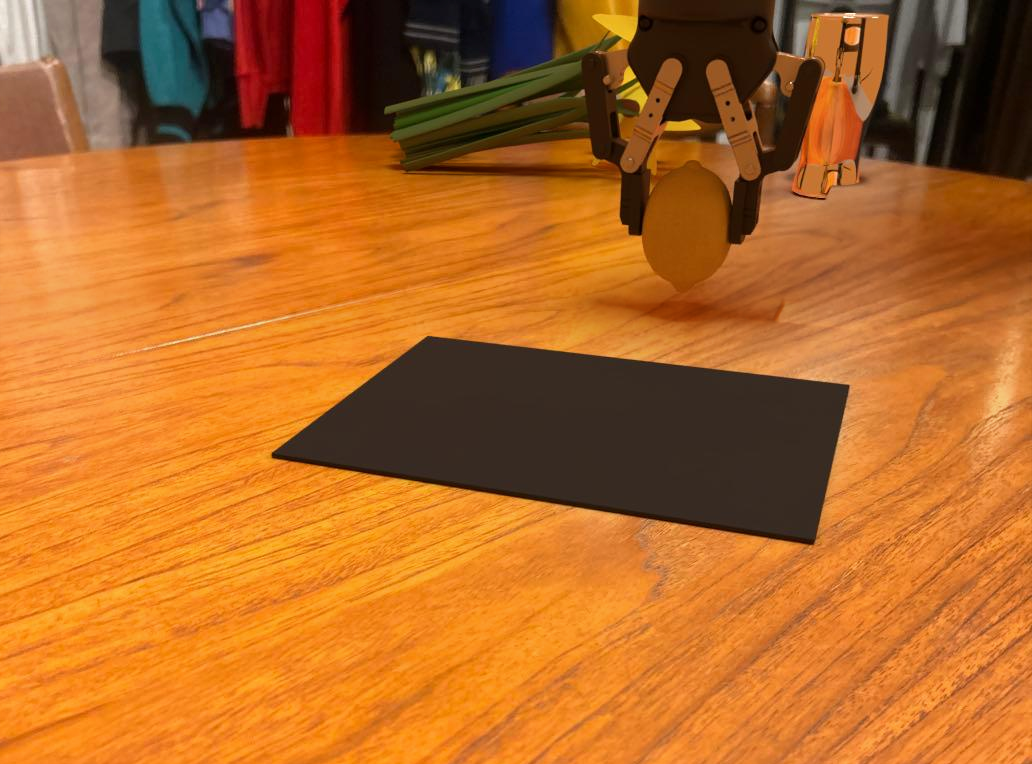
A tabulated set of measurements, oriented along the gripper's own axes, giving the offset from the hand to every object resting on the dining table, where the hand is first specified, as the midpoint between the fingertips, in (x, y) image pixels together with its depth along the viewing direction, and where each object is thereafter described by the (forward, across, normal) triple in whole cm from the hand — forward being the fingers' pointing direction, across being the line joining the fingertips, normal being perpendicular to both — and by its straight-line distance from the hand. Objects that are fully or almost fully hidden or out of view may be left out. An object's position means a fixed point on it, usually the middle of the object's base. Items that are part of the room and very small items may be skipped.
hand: (687, 236), depth 67 cm
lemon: (+4, 0, 0) cm, 4 cm away
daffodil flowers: (+5, -23, +42) cm, 48 cm away
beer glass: (+5, +5, +41) cm, 42 cm away
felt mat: (+5, -1, -20) cm, 20 cm away
